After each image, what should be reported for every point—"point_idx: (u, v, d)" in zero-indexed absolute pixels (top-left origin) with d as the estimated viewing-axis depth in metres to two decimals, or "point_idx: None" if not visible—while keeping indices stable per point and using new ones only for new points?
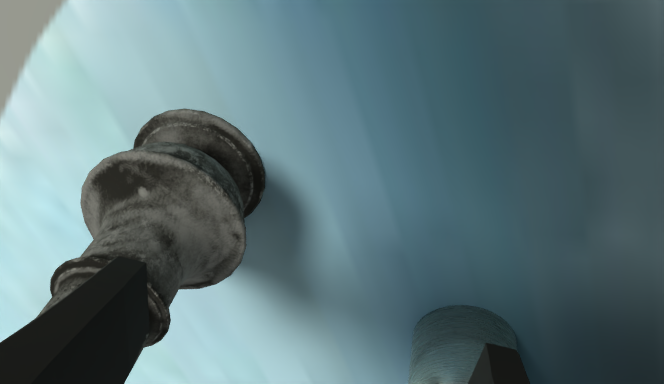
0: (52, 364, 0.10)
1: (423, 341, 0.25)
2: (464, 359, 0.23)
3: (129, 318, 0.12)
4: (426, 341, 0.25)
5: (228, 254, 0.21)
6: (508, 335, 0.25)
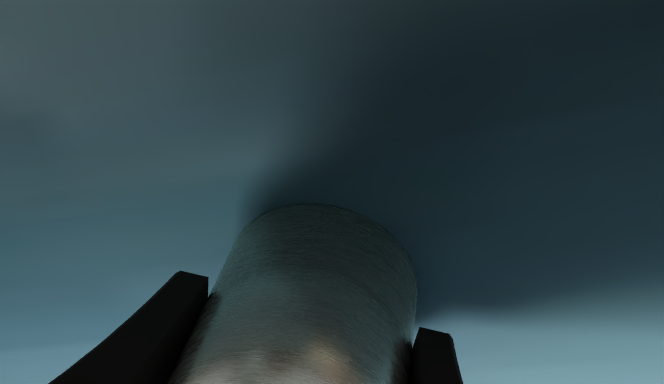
0: None
1: None
2: None
3: None
4: None
5: None
6: (245, 238, 0.13)
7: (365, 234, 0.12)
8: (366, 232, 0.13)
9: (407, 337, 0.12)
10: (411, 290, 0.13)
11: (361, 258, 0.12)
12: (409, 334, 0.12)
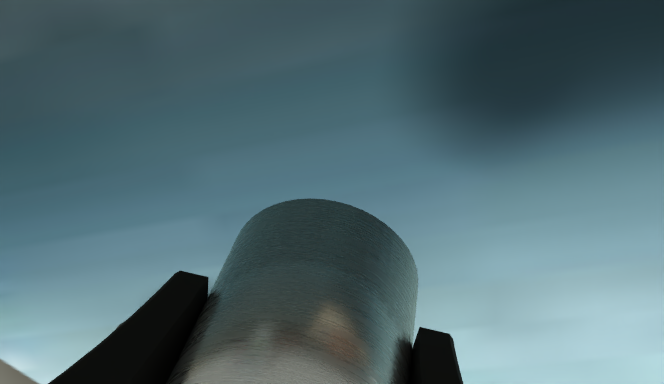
0: None
1: None
2: None
3: None
4: None
5: None
6: (248, 233, 0.13)
7: (366, 228, 0.13)
8: (367, 226, 0.13)
9: (408, 329, 0.12)
10: (412, 284, 0.13)
11: (362, 251, 0.12)
12: (410, 327, 0.12)
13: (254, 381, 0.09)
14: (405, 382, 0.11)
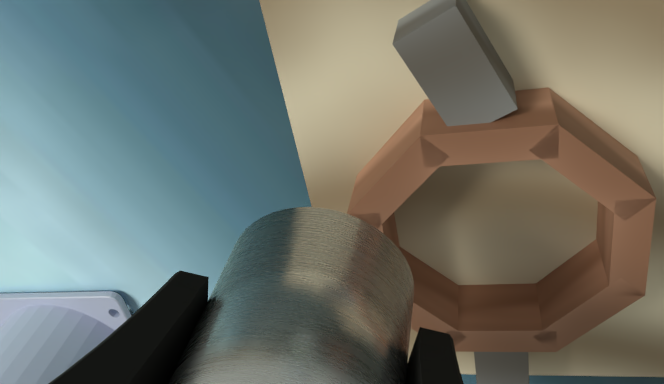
0: None
1: None
2: None
3: None
4: None
5: None
6: (256, 235, 0.13)
7: (374, 244, 0.13)
8: (376, 242, 0.13)
9: (406, 348, 0.12)
10: (411, 302, 0.13)
11: (371, 267, 0.12)
12: (408, 345, 0.12)
13: None
14: None
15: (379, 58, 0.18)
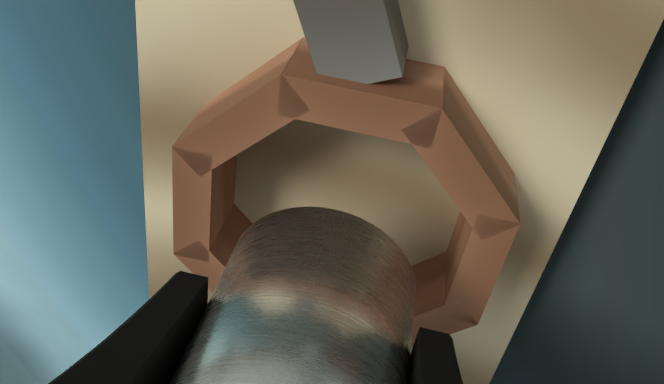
0: None
1: None
2: None
3: (192, 333, 0.12)
4: None
5: None
6: (256, 235, 0.13)
7: (375, 242, 0.13)
8: (376, 241, 0.13)
9: (408, 347, 0.12)
10: (412, 300, 0.13)
11: (372, 266, 0.12)
12: (409, 344, 0.12)
13: None
14: None
15: None
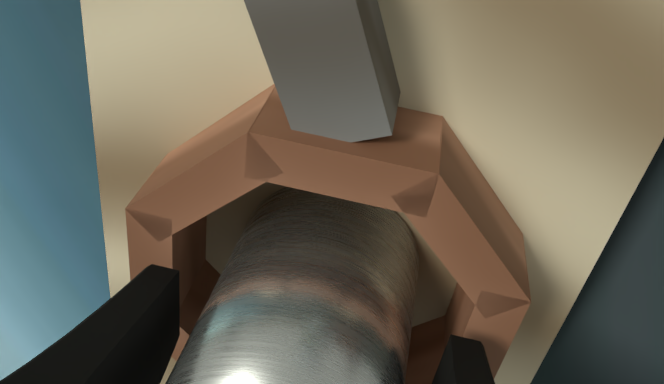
0: (94, 375, 0.10)
1: None
2: None
3: (163, 326, 0.12)
4: None
5: None
6: (269, 207, 0.14)
7: (381, 216, 0.14)
8: (382, 214, 0.14)
9: (410, 313, 0.13)
10: (415, 272, 0.14)
11: (377, 237, 0.13)
12: (412, 311, 0.13)
13: (282, 344, 0.10)
14: (406, 360, 0.12)
15: (228, 3, 0.12)
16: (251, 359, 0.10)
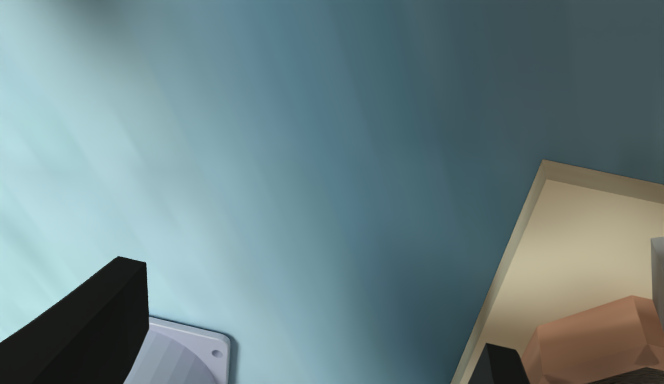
0: (52, 364, 0.10)
1: None
2: None
3: (129, 318, 0.12)
4: None
5: None
6: None
7: None
8: None
9: None
10: None
11: None
12: None
13: None
14: None
15: (615, 257, 0.20)
16: None
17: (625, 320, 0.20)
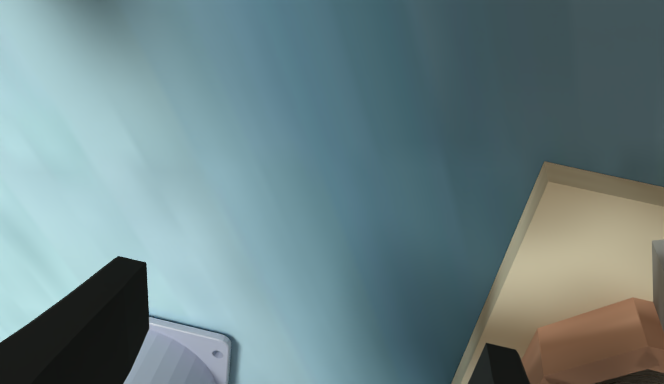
0: (52, 364, 0.10)
1: None
2: None
3: (129, 318, 0.12)
4: None
5: None
6: None
7: None
8: None
9: None
10: None
11: None
12: None
13: None
14: None
15: (616, 259, 0.20)
16: None
17: (626, 322, 0.20)
